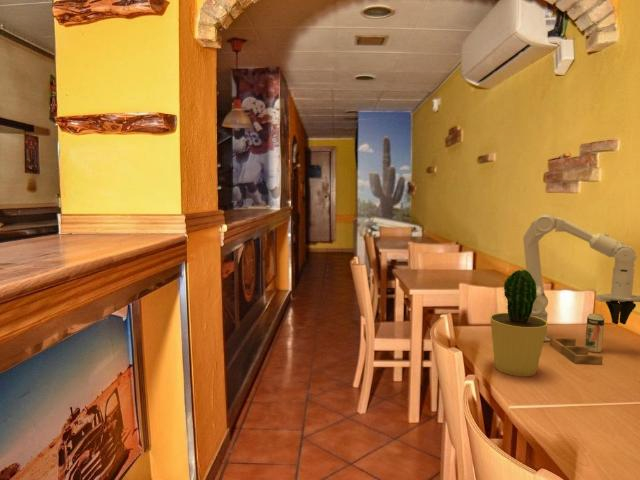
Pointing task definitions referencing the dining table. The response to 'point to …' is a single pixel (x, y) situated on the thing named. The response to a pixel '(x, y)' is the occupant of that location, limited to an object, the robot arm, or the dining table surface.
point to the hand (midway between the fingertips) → (618, 323)
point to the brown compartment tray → (574, 351)
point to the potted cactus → (518, 328)
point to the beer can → (594, 332)
